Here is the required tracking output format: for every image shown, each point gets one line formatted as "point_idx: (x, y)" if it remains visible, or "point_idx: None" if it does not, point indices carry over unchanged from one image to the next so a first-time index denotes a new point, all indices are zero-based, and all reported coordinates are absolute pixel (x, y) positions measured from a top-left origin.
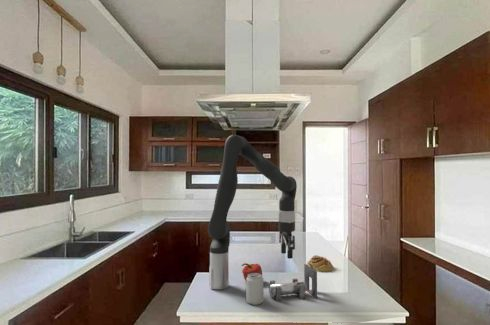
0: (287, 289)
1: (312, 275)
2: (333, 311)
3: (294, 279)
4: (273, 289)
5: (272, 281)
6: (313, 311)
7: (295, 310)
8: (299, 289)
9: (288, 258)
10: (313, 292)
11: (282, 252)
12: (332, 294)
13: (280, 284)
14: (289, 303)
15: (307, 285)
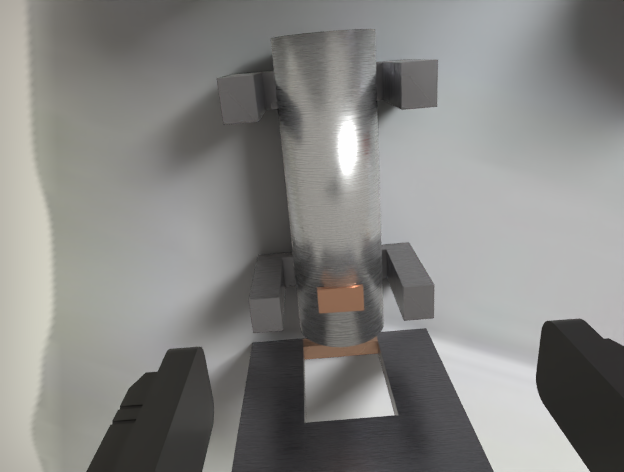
0: (286, 189)
1: (287, 447)
2: (55, 379)
3: (411, 295)
4: (276, 56)
5: (409, 78)
6: (53, 275)
7: (67, 169)
8: (270, 281)
9: (174, 352)
10: (274, 360)
11: (551, 342)
12: None
13: (321, 142)
14: (191, 161)
15: (382, 359)
